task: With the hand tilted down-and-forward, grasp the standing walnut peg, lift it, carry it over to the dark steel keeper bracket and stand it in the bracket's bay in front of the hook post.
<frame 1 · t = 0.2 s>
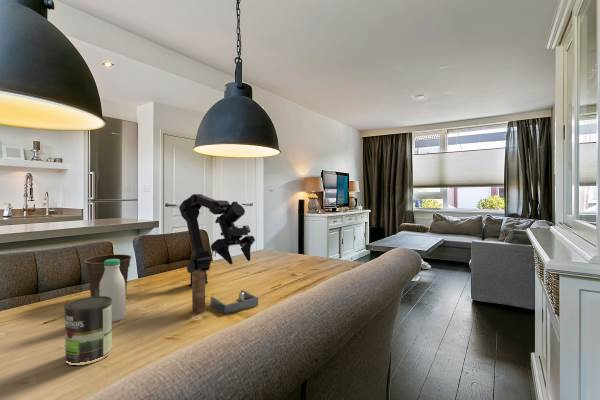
hand: (240, 262, 125), 15 cm above the table, tool tilted 30°, fingers open, 9 cm apart
keeper: (233, 305, 119), on the table
peg: (198, 311, 113), on the table
plant pot: (109, 298, 127), on the table
coffee can: (89, 356, 82), on the table
milk bottle: (112, 319, 106), on the table
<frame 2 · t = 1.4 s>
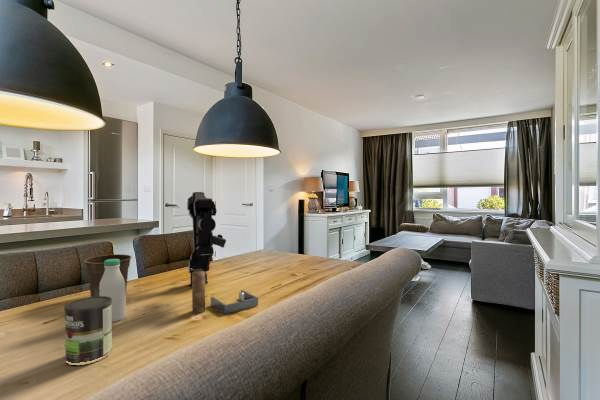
hand: (204, 268, 126), 12 cm above the table, tool pointing down, fingers open, 9 cm apart
nothing on the table moved.
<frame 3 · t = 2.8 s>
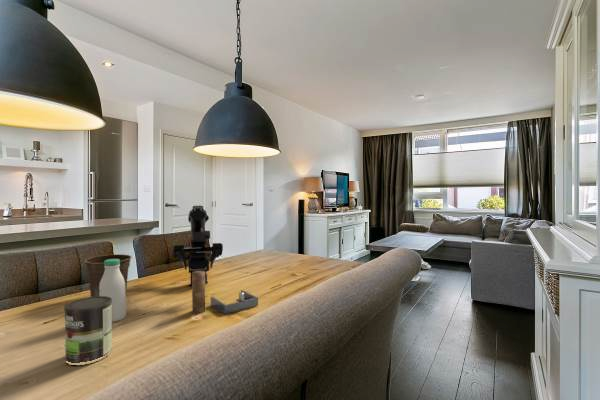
hand: (198, 268, 121), 13 cm above the table, tool tilted 45°, fingers open, 9 cm apart
nothing on the table moved.
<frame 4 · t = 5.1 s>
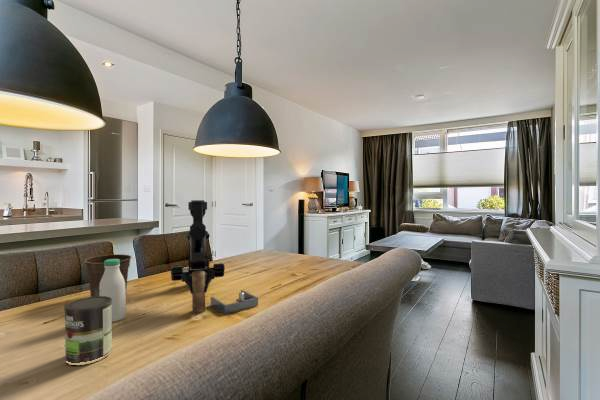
hand: (198, 292, 111), 7 cm above the table, tool tilted 45°, fingers closed on peg, 4 cm apart
peg: (198, 311, 113), on the table, touching gripper
everything else where it was.
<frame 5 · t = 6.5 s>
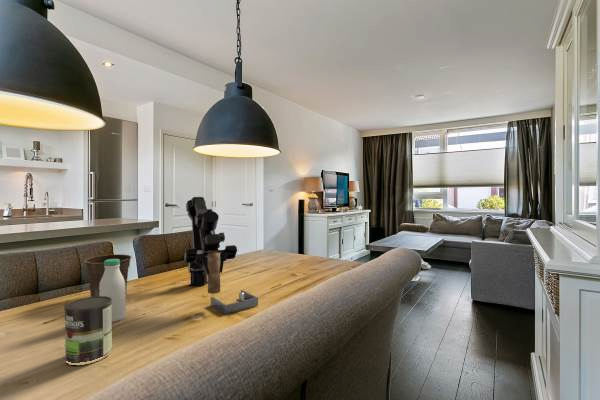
hand: (214, 273, 113), 13 cm above the table, tool tilted 45°, fingers closed on peg, 4 cm apart
peg: (214, 291, 115), point 6 cm above the table, touching gripper
everything else where it was.
when the fingers open (8 cm above the table, at t = 8.4 s): peg stays where it is, on the table.
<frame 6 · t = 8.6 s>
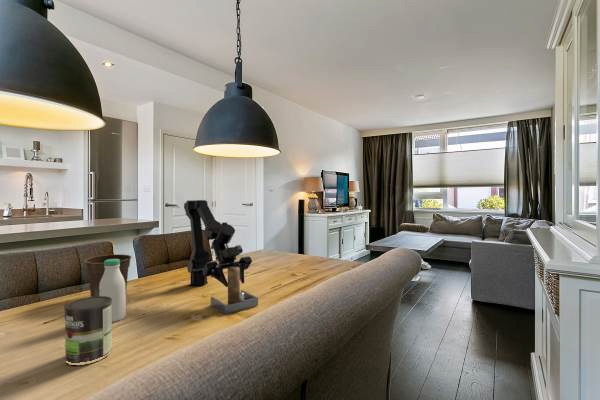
hand: (235, 284, 117), 8 cm above the table, tool tilted 45°, fingers open, 6 cm apart
peg: (233, 305, 119), on the table
everything else where it was.
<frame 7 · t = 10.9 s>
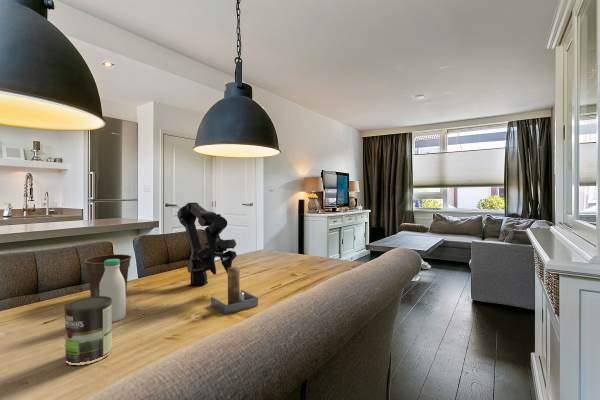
hand: (222, 274, 126), 10 cm above the table, tool tilted 30°, fingers open, 9 cm apart
nothing on the table moved.
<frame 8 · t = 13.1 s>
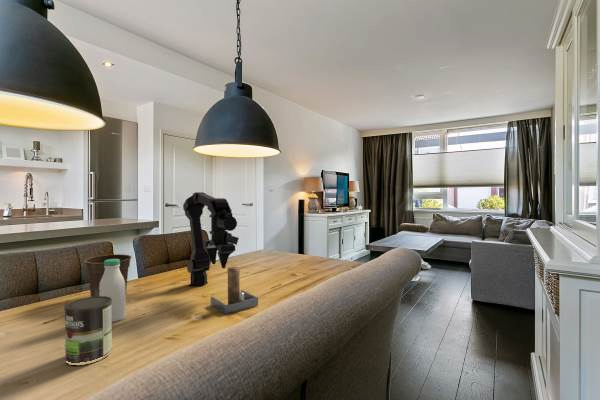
hand: (218, 266, 130), 12 cm above the table, tool pointing down, fingers open, 9 cm apart
nothing on the table moved.
at the end: peg 0.1 cm from the keeper (horizontally); peg tilted 0°; peg on the table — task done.
